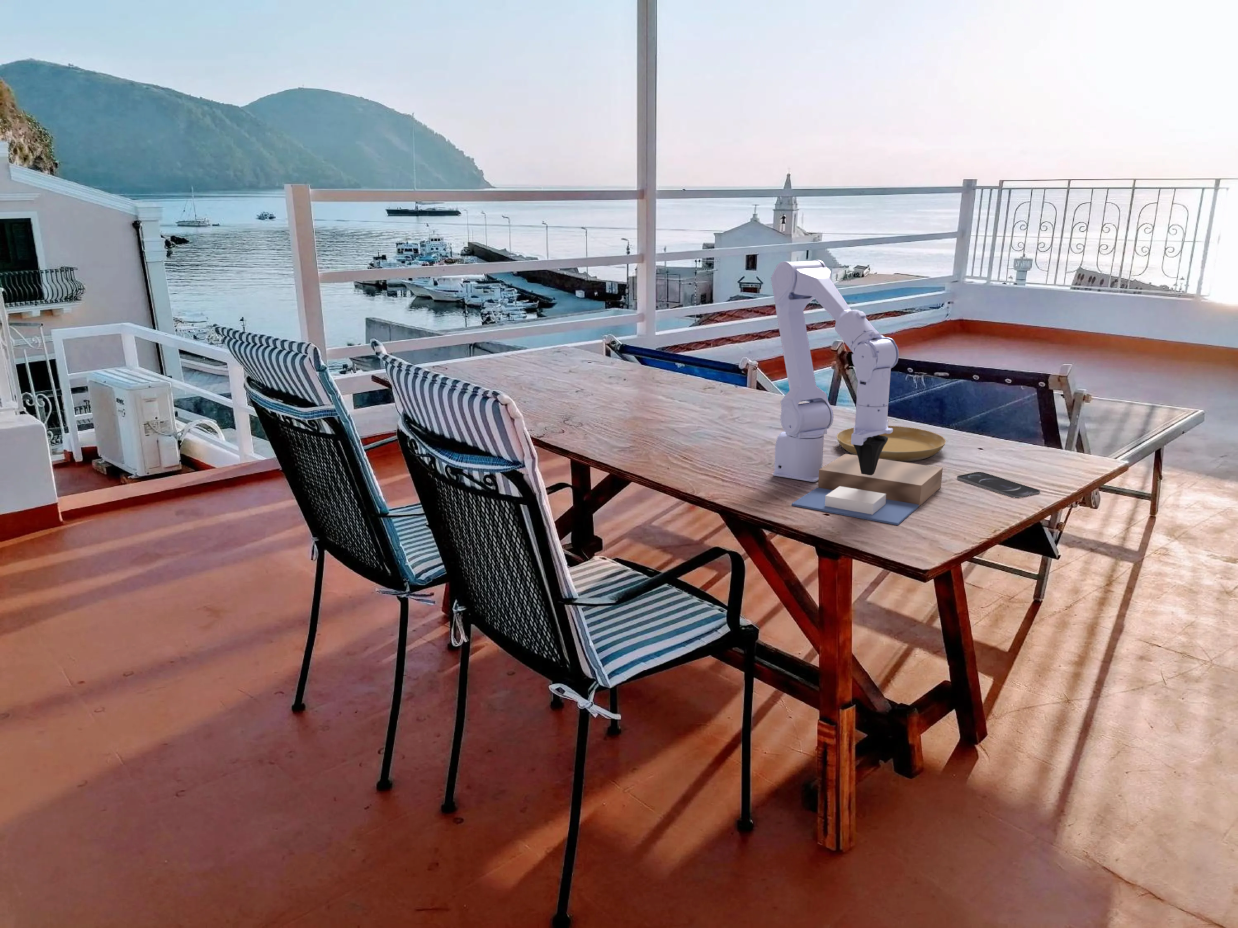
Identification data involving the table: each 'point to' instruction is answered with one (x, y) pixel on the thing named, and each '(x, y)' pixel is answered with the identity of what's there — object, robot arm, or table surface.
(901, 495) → the stand
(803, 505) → the mat
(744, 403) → the table surface
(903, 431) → the plant saucer
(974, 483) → the smartphone
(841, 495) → the tile
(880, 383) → the robot arm
